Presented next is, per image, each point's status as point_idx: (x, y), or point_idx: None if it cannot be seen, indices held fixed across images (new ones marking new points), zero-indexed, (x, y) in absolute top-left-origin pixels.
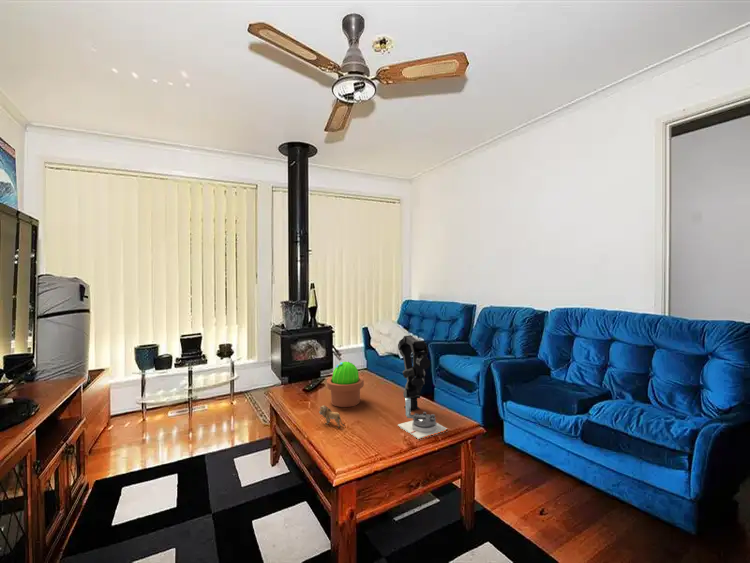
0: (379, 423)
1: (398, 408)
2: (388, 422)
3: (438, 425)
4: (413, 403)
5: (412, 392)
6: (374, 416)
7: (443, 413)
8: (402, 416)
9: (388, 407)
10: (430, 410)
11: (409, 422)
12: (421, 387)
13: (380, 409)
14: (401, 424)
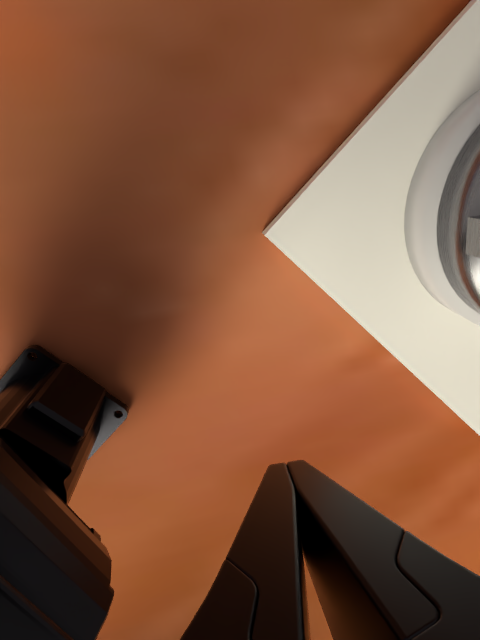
0: (430, 545)
1: (107, 510)
2: (405, 501)
3: (472, 52)
4: (87, 430)
5: (70, 559)
6: (319, 603)
7: (43, 42)
8: (268, 441)
9: (118, 577)
10: (21, 223)
11: (431, 360)
12: (422, 559)
13: (181, 609)
14: (477, 410)
